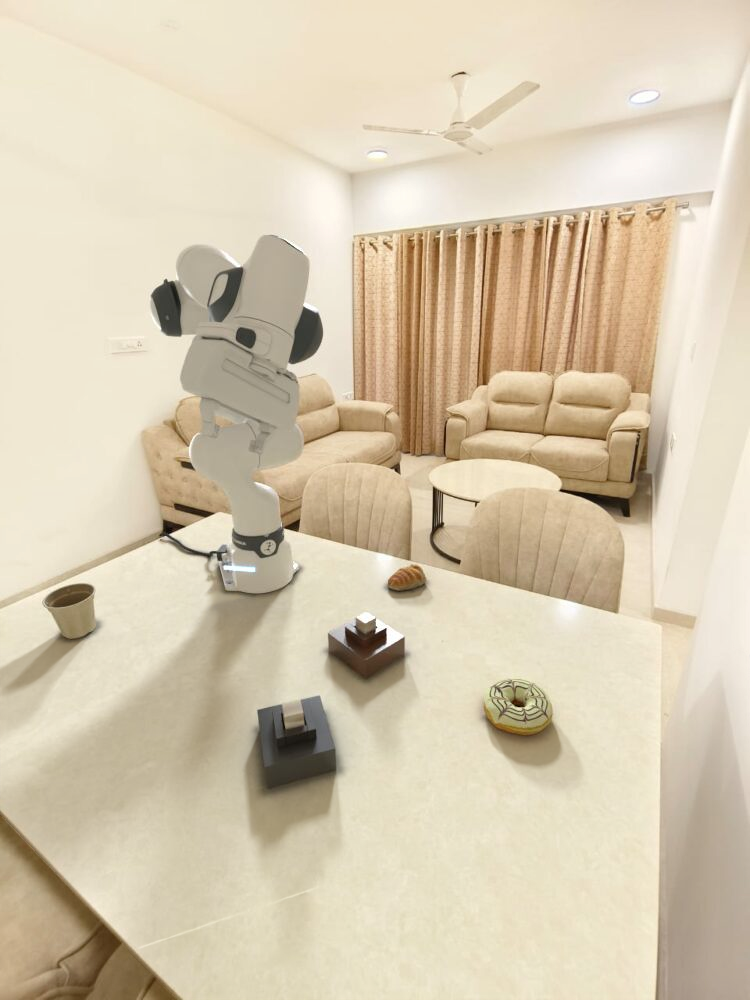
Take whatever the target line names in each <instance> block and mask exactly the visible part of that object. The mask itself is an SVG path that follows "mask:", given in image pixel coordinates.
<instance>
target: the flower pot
mask: <svg viewBox="0 0 750 1000" xmlns="http://www.w3.org/2000/svg"><path fill="white" fill-rule="evenodd" d="M95 594H96V587H95V585H94V584H91V583H88V582H77V583H71V584H66V585H64V586H61V587H58V588H56V589H54V590H52V591H50V592H49V593H48V594H46V596H44V597H43V599H42V606H43V607H44V608H45V609H47V611H48V612H49V613H50V614H51V616H52V618H53V619H54V621H55V623H56V626H57V627H58V630H59V632H60V633H61V635H62V637H65V638H66V639H69V640H71V639H79V638H83V637H85V636H86V635H87V634H89V633H91V632H93V631H94V630H95V628H96V626H97V623H96V622H97V621H96V612H95V602H94V601H95V600H94V599H95Z"/></svg>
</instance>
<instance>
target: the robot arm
mask: <svg viewBox="0 0 750 1000" xmlns="http://www.w3.org/2000/svg"><path fill="white" fill-rule="evenodd" d="M175 277H176V280H168V279H167V278H165V279H163V282H162V284H160V285H158V286H157V287H155V288H154V290H153V291H152V292H151V294H150V301H149V310H150V316H151V319H152V320H153V322H154V324H155V325H156V327H157V328H158V329H159V330H160V332H161V333H162V334H163V335H164V336H167V337H171V338H172V337H174V338H181V337H182V336H193V337H192V339H191V341H190V345H189V346H188V349H187V352H186V354H185V357H184V359H183V364H182V367H181V371H180V375H179V382H180V385H181V389H182V390H183V391H185V392H186V393H189V394H191V395H194V396H196V397H199V398H200V402H199V406H198V407H199V412H200V417H201V421H202V423H201V427H200V430H199V431H200V432H198V433H195V434H194V436H193V437H192V439H191V441H190V443H189V448H188V456H189V461H190V463H191V465H192V467H193V469H194V470H195V472H197V473H198V474H199V476H200V475H201V476H202V477H203V478H205V479H208V480H209V481H212V482H213V483H214V484H215V485H217V486H218V487H219V488H220V489H221V490H222V492H223V493H224V496H225V497H226V499H227V501H228V505H229V509H230V514H231V518H232V526H233V527H232V529H231V540H230V541H229V542H228V543H227V544H221V546H219V548H218V549H217V550H211V551H209V553H208V552H202V551H199V550H196V549H192V548H190V547H188V546H186V545H184V544H183V543H182V542H181V541H180V540H178V539H177V538H176V537H173V536H171V534H169V533H167V532H160V533H159V534H158V537H163V536H165V537H166V538H168V539H170V540H171V541H173V542H174V543H176V544H177V545H178V546H179V547H180V548H182V549H183V550H185V551H187V552H190V553H193V554H196V555H201V556H205V557H213V555H216V560H217V562H218V565H219V566H218V567H219V569H220V573H221V574H220V575H221V578H222V581H223V585H224V590H225V591H227V592H241V593H246V594H247V593H248V594H265V593H271V592H274V591H277V590H280V589H282V588H283V587H286V586H287V585H288V584H289V583H290V582H291V581H292V579H293V577H294V574H295V573H297V572H298V571H299V568H300V567H299V564H298V563H296V562H295V561H294V560H293V553H292V548H291V547H292V546H291V543H290V542H291V541H289V540H287V538H285V527H284V523H283V522H282V517H281V505H280V497H279V495H278V493H277V491H276V490H275V488H272V487H271V486H269V485H267V484H263V483H261V482H256V481H254V476H253V475H254V473H256V472H259V471H264V470H270V469H274V468H278V467H283V466H285V465H287V464H290V463H292V462H294V461H296V460H298V459H300V457H301V456H302V455H303V452H304V449H305V437H304V434H303V432H302V430H301V428H300V426H299V425H298V424H297V423H296V422H297V418H298V414H299V413H298V412H299V407H300V399H301V398H300V397H301V392H300V388H301V387H300V384H299V381H298V379H297V375H296V374H295V373H294V372H293V371H289V370H288V369H287V368H288V364H290V365H296V364H299V363H303V362H305V361H307V360H308V359H311V357H313V356H314V355H315V354H316V353H317V352H318V350H319V349H320V348H321V345H322V341H323V338H324V327H323V322H322V319H321V316H320V313H319V310H318V308H316V307H315V306H312V305H310V304H308V303H306V302H305V300H306V295H307V292H308V291H307V290H308V284H309V279H310V278H309V277H310V259H309V256H308V255H307V254H306V253H305V251H304V250H302V249H301V248H300V247H298V246H297V245H296V244H294V243H292V242H291V241H289V240H287V239H286V238H283V237H280V236H278V235H275V234H263V235H261V236H260V237H258V239H257V241H256V243H255V246H254V247H253V250H252V252H251V254H250V255H249V257H248V259H247V260H246V261H245V262H244V263H243V264H242V265H241V266H240V265H239V264H238V263H237V262H236V261H235V260H234V259H233V258H232V257H230V256H229V255H228V254H227V253H226V252H225V251H223V250H221V249H219V248H218V247H215V246H213V245H209V244H205V243H195V244H192V245H188V246H186V247H184V248H183V249H182V250H181V251H180V253H179V254H178V256H177V257H176V261H175ZM216 417H218V418H220V419H224V420H227V421H229V422H231V423H233V424H229V425H219V424H217V418H216Z"/></svg>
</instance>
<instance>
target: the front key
mask: <svg viewBox="0 0 750 1000" xmlns="http://www.w3.org/2000/svg"><path fill="white" fill-rule="evenodd" d="M281 704H282V712H283V719H284V725H285V730H288V729H292V728H296V727H300V726H304V725H305V724H304V713H303V708H302V704H301V699H296V700H291V701H287V702H283V703H281Z"/></svg>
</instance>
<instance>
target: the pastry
mask: <svg viewBox="0 0 750 1000" xmlns="http://www.w3.org/2000/svg"><path fill="white" fill-rule="evenodd" d="M425 582H427V577H426V574H425V572H424V570H423V568H422V567H421V565H418V564H413V563H411V564H410V565H408V566H404V567H400V568H399V569H398V570H396V571H395V572H394V573H393V574H391V576H390V577H389V578H388V579H387V587H388V588H389V589H391V590H394V591H398V592H400V591H401V592H402V591H403V592H404V591H406V590H411V589H412V590H413V589H415V588H417V587H421V586H423V585H424V584H425Z"/></svg>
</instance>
